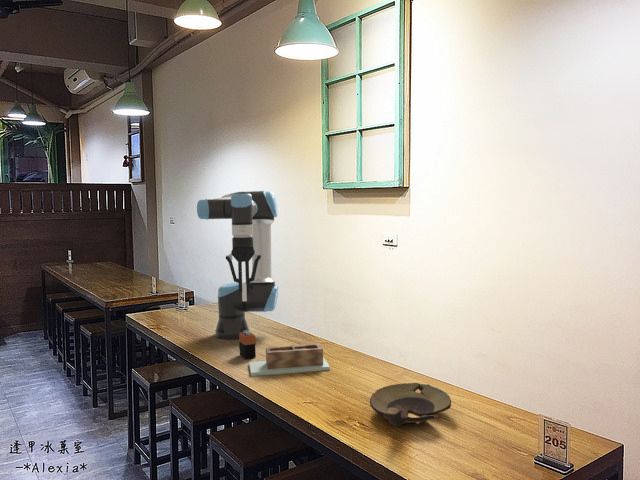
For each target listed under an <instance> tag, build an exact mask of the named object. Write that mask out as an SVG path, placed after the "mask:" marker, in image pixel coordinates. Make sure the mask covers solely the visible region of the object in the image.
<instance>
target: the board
mask: <svg viewBox="0 0 640 480" xmlns="http://www.w3.org/2000/svg"><path fill="white" fill-rule="evenodd" d="M248 364H249V372H250V376H251V377H257V376H270V375H284V374H295V373H306V372H307V373H308V372H317V371H318V372H320V371H330V370H331V368H330V367H331V366H330V365H329V363H328V361H327V360H326V359H325V357H324V356H323V365H318V366H305V367H292V368H279V369H268V368H267V364H266V360H261V361H259V360H258V361H249V362H248Z"/></svg>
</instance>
